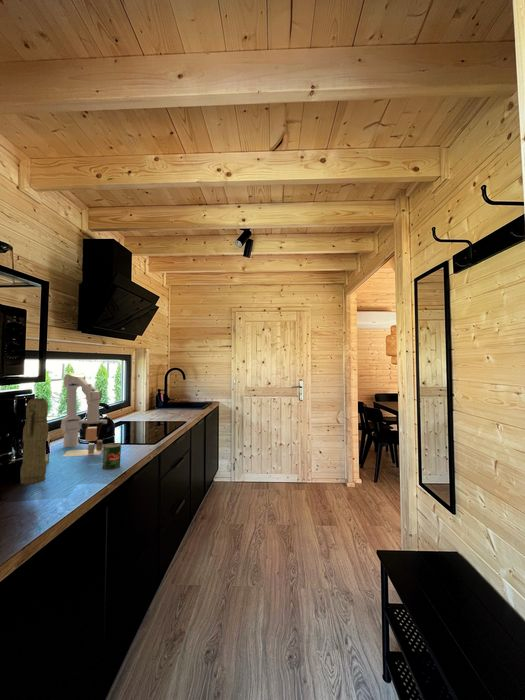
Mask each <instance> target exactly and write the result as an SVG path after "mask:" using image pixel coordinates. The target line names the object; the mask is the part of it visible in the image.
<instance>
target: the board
mask: <svg viewBox="0 0 525 700" xmlns="http://www.w3.org/2000/svg"><path fill="white" fill-rule="evenodd" d="M101 453H103V448H102V450H96V448H94V453H91V454H88V449H71V450H67V451H66V452H65V453H64V454H63V455H62V457H64V458H65V457H79V456H81V457H82V456H92V455H93V456H94V455H95V456H96V455H101Z"/></svg>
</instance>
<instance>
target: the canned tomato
mask: <svg viewBox="0 0 525 700" xmlns="http://www.w3.org/2000/svg"><path fill="white" fill-rule="evenodd" d="M102 449H103V450H102V453H103V454H102V470H103V471H114V470H117V469H120V467H121V457H122V455H121V454H122V453H121V451H122V443H120V442H110V443H109V442H108V443H106V444H103V447H102Z"/></svg>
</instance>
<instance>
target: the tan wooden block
mask: <svg viewBox="0 0 525 700" xmlns="http://www.w3.org/2000/svg"><path fill="white" fill-rule="evenodd" d="M98 438H99V436H98V437H97V426H88V428H86V438H85V442H90V441H91V442H92V441H93V442H95V441H96V442H97V441H98V440H99V439H98Z"/></svg>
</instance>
